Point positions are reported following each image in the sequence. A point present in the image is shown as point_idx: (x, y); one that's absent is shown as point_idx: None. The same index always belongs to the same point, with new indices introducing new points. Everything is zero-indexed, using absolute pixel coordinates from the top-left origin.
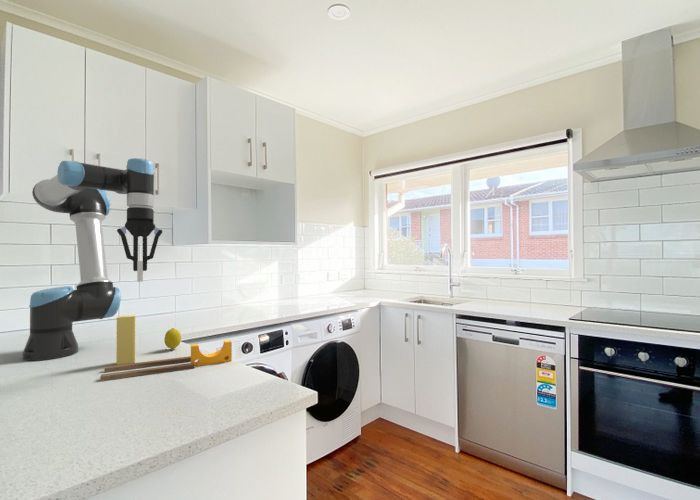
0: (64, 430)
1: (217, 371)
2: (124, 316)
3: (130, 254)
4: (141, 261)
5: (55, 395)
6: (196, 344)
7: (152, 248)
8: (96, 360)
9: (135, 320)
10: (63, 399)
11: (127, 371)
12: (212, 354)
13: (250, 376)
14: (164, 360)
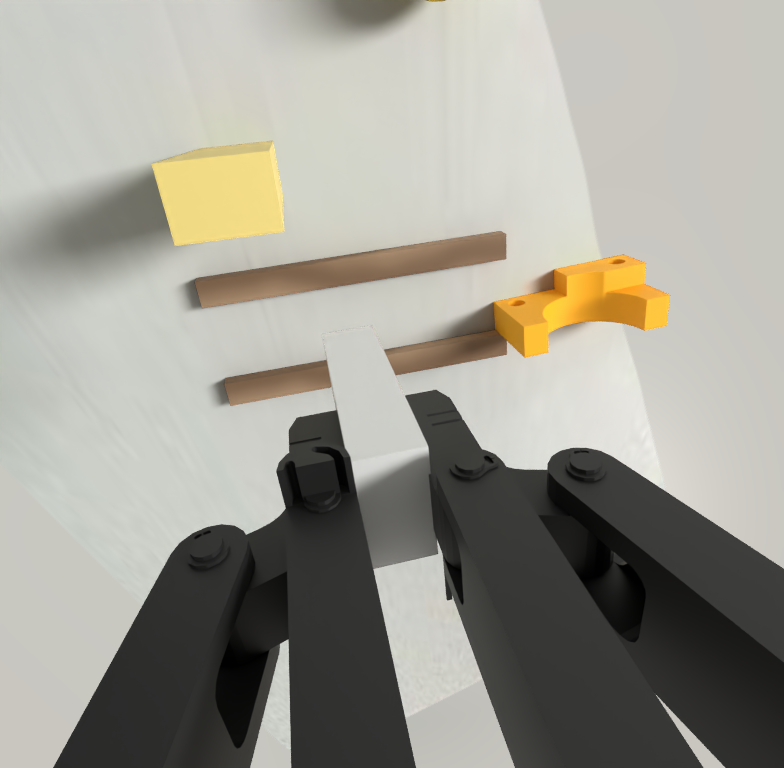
0: (280, 644)
1: (558, 400)
2: (212, 210)
3: (235, 610)
4: (420, 553)
5: (156, 486)
6: (544, 328)
7: (695, 709)
8: (64, 56)
9: (272, 162)
10: (196, 516)
11: (303, 373)
12: (578, 290)
13: (621, 462)
14: (408, 268)
